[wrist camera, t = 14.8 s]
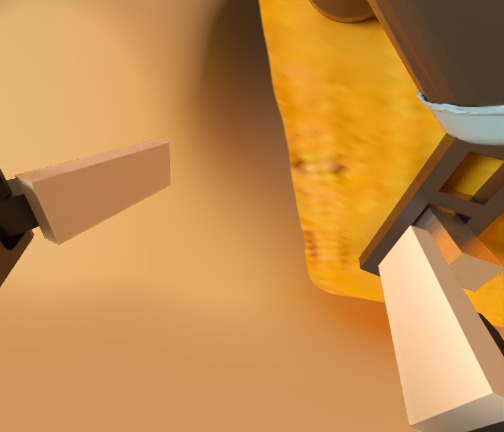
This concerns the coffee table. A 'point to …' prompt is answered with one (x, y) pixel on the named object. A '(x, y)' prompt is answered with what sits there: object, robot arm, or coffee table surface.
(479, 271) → the beige tall block
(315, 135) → the coffee table surface
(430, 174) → the dark grey ladder frame
